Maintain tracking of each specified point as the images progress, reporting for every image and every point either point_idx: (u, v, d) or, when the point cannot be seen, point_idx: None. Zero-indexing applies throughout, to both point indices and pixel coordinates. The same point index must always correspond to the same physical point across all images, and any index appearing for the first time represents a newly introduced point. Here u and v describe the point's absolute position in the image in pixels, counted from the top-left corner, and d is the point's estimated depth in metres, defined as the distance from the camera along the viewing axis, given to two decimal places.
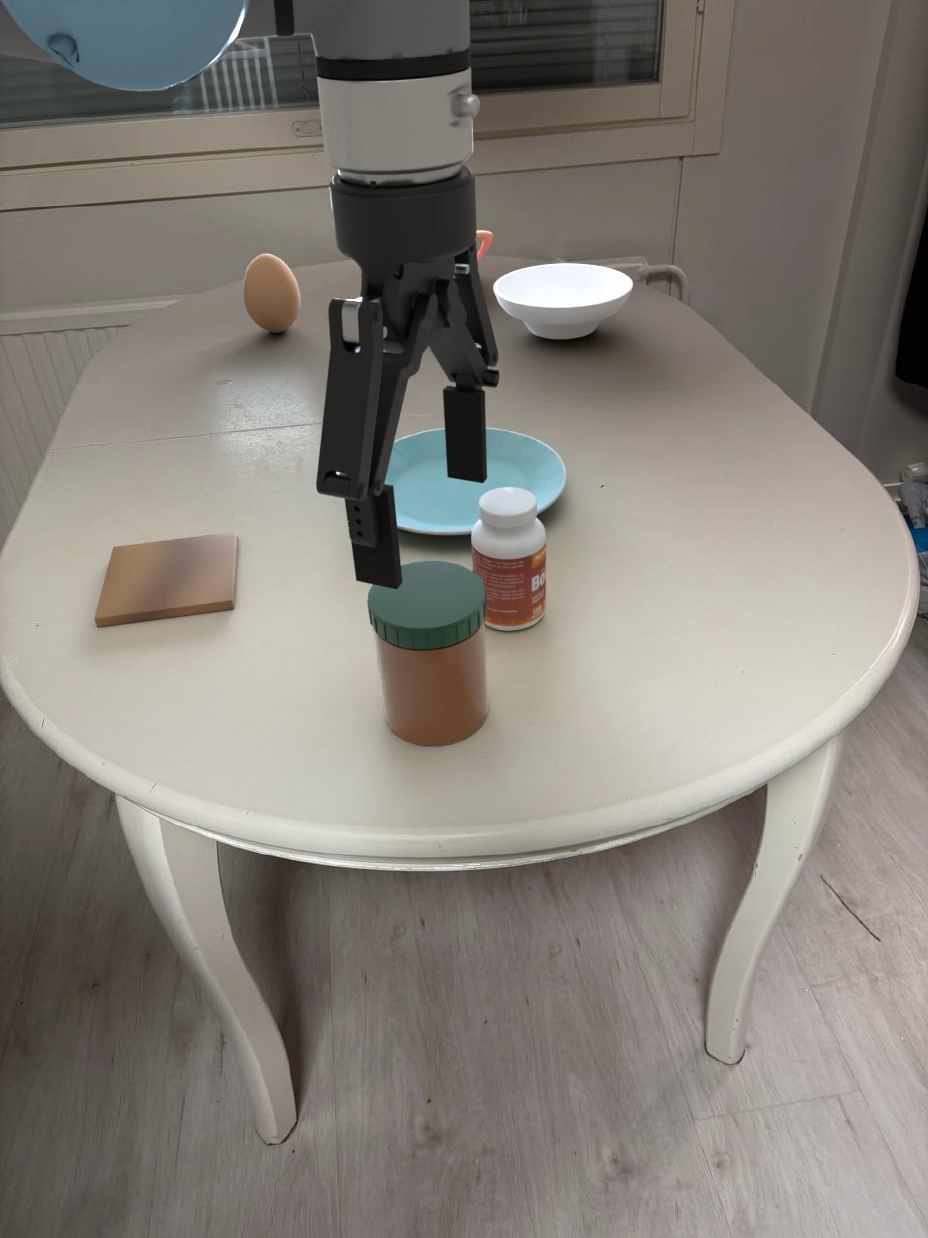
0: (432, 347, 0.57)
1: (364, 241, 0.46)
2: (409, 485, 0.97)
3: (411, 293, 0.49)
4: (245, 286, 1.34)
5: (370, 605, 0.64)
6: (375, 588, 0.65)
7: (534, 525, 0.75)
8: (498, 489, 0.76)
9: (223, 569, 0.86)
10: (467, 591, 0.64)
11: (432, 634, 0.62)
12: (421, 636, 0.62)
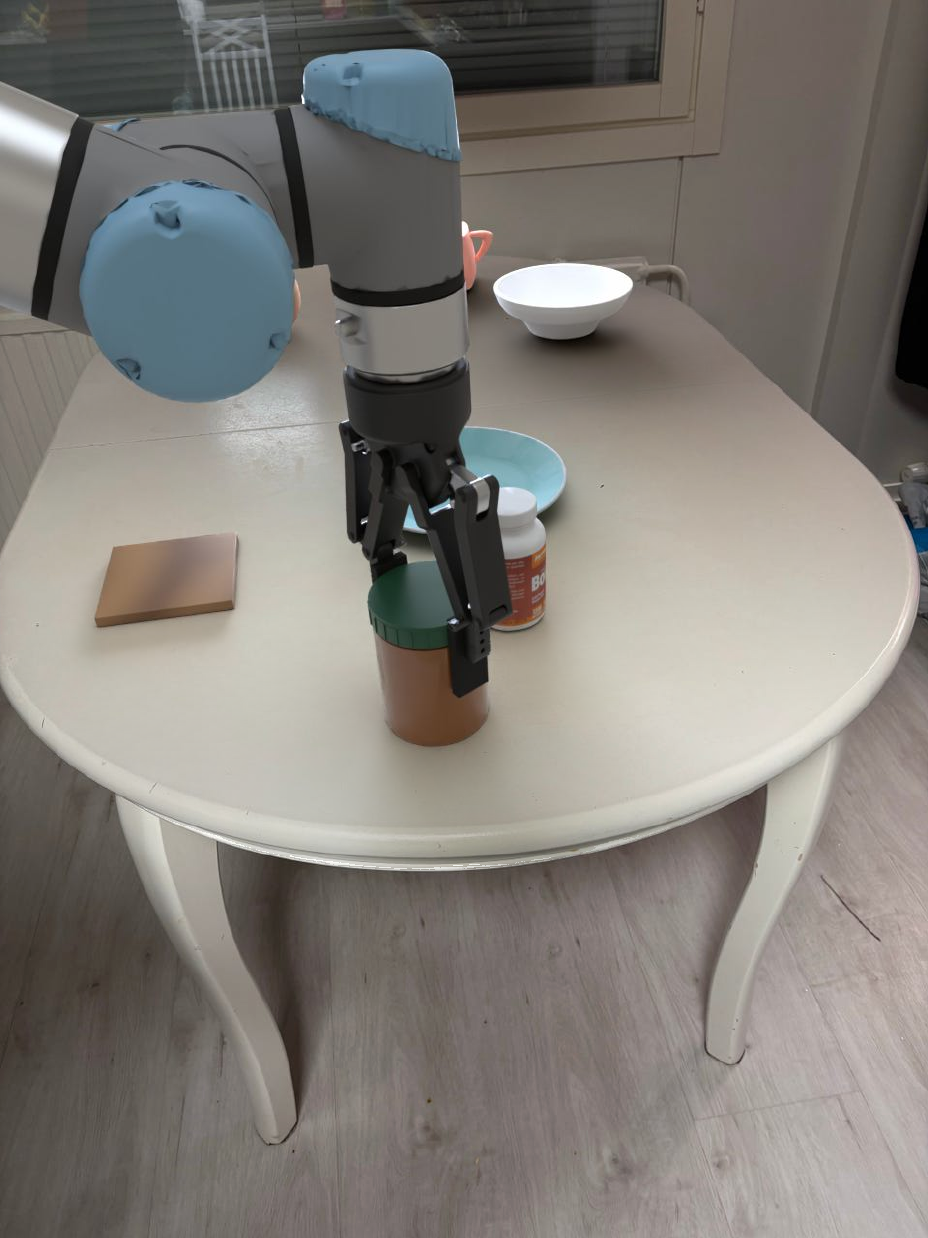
0: None
1: None
2: None
3: None
4: None
5: (370, 605, 0.64)
6: (375, 588, 0.65)
7: (534, 525, 0.75)
8: None
9: (223, 569, 0.86)
10: None
11: (432, 634, 0.62)
12: (421, 636, 0.62)
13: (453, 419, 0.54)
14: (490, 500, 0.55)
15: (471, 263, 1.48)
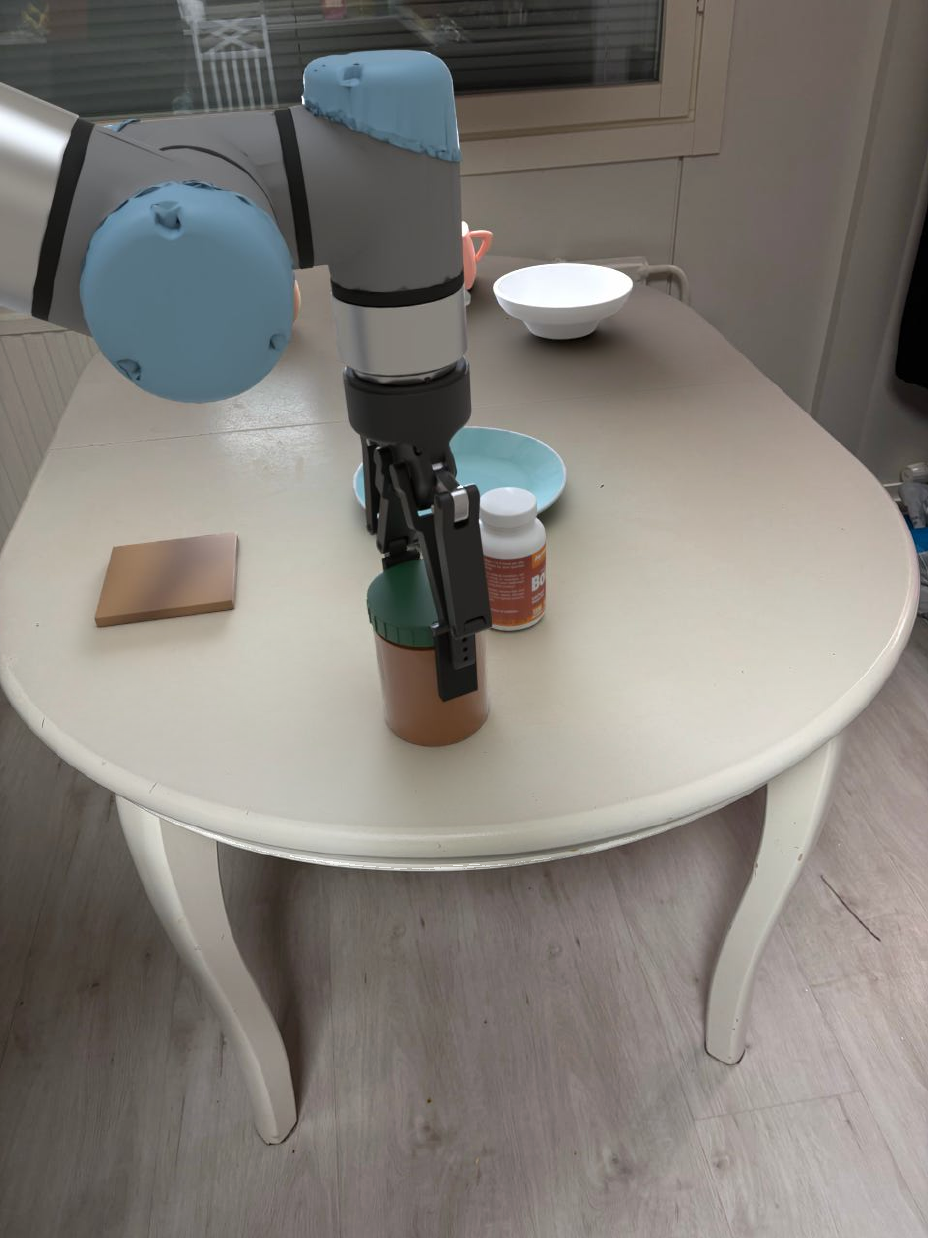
0: (389, 515, 0.63)
1: (427, 427, 0.53)
2: None
3: None
4: None
5: None
6: None
7: (534, 525, 0.75)
8: (498, 489, 0.76)
9: (223, 569, 0.86)
10: (386, 586, 0.65)
11: None
12: None
13: None
14: None
15: (471, 263, 1.48)
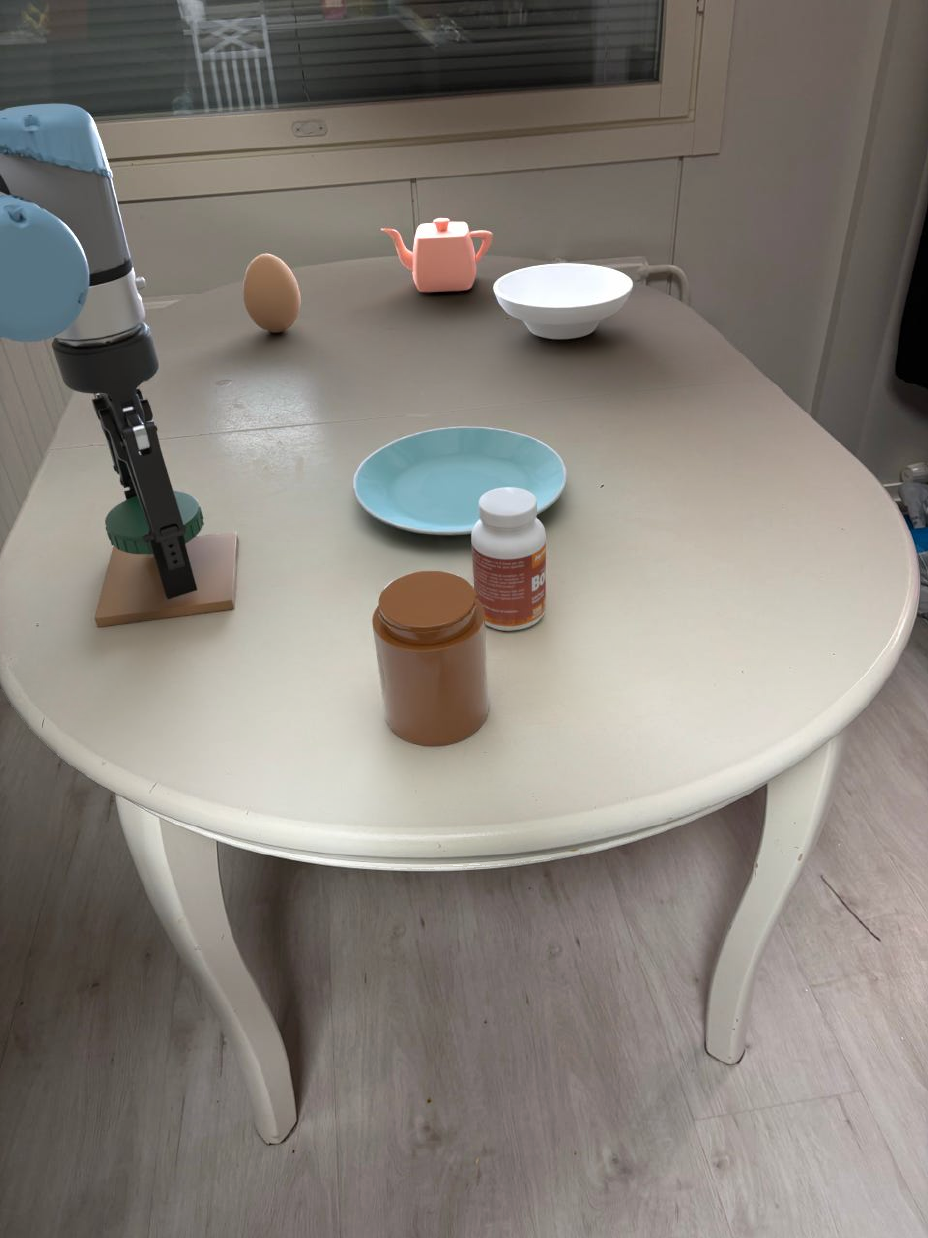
0: None
1: (112, 378, 0.71)
2: (409, 485, 0.97)
3: None
4: (245, 286, 1.34)
5: (197, 508, 0.83)
6: (186, 519, 0.81)
7: (534, 525, 0.75)
8: (498, 489, 0.76)
9: (223, 569, 0.86)
10: (123, 510, 0.83)
11: None
12: None
13: None
14: None
15: (471, 263, 1.48)
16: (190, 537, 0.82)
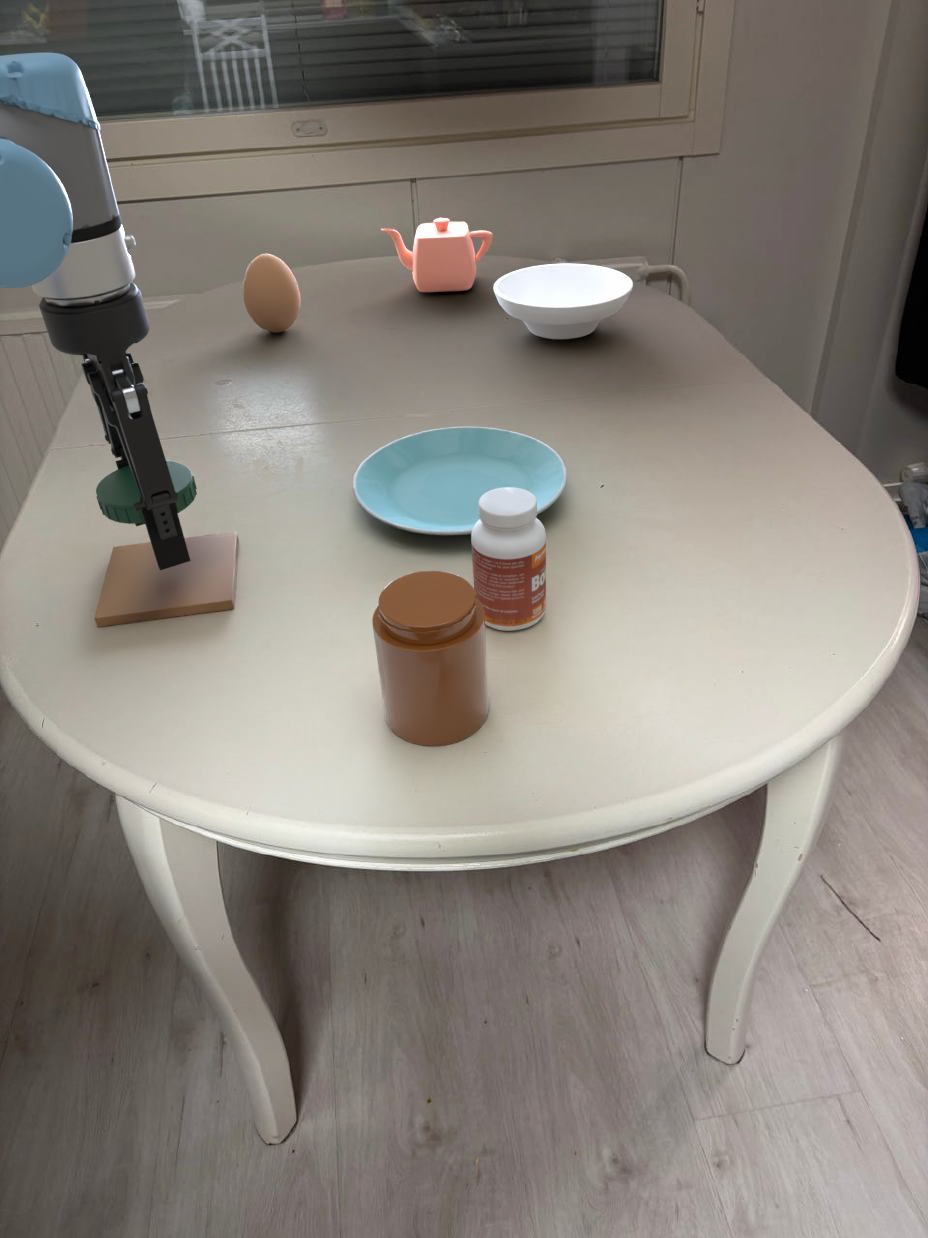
0: None
1: (101, 339, 0.70)
2: (409, 485, 0.97)
3: None
4: (245, 286, 1.34)
5: (190, 477, 0.81)
6: (179, 488, 0.80)
7: (534, 525, 0.75)
8: (498, 489, 0.76)
9: (223, 569, 0.86)
10: (114, 480, 0.81)
11: None
12: None
13: None
14: None
15: (471, 263, 1.48)
16: (183, 506, 0.80)
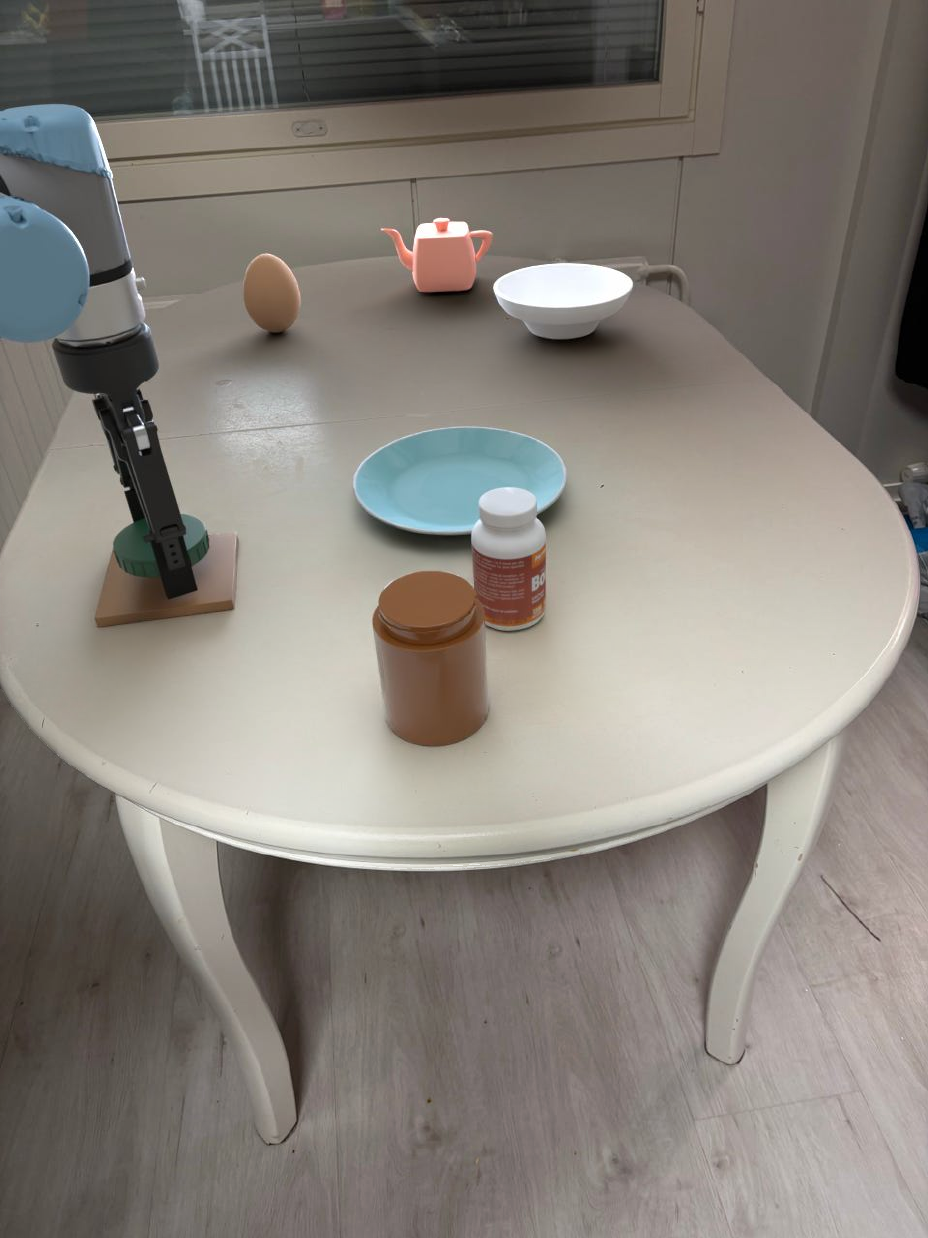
0: None
1: (113, 379, 0.72)
2: (409, 485, 0.97)
3: None
4: (245, 286, 1.34)
5: (204, 531, 0.84)
6: (193, 543, 0.83)
7: (534, 525, 0.75)
8: (498, 489, 0.76)
9: (223, 569, 0.86)
10: (130, 533, 0.85)
11: None
12: None
13: None
14: None
15: (471, 263, 1.48)
16: (196, 560, 0.83)
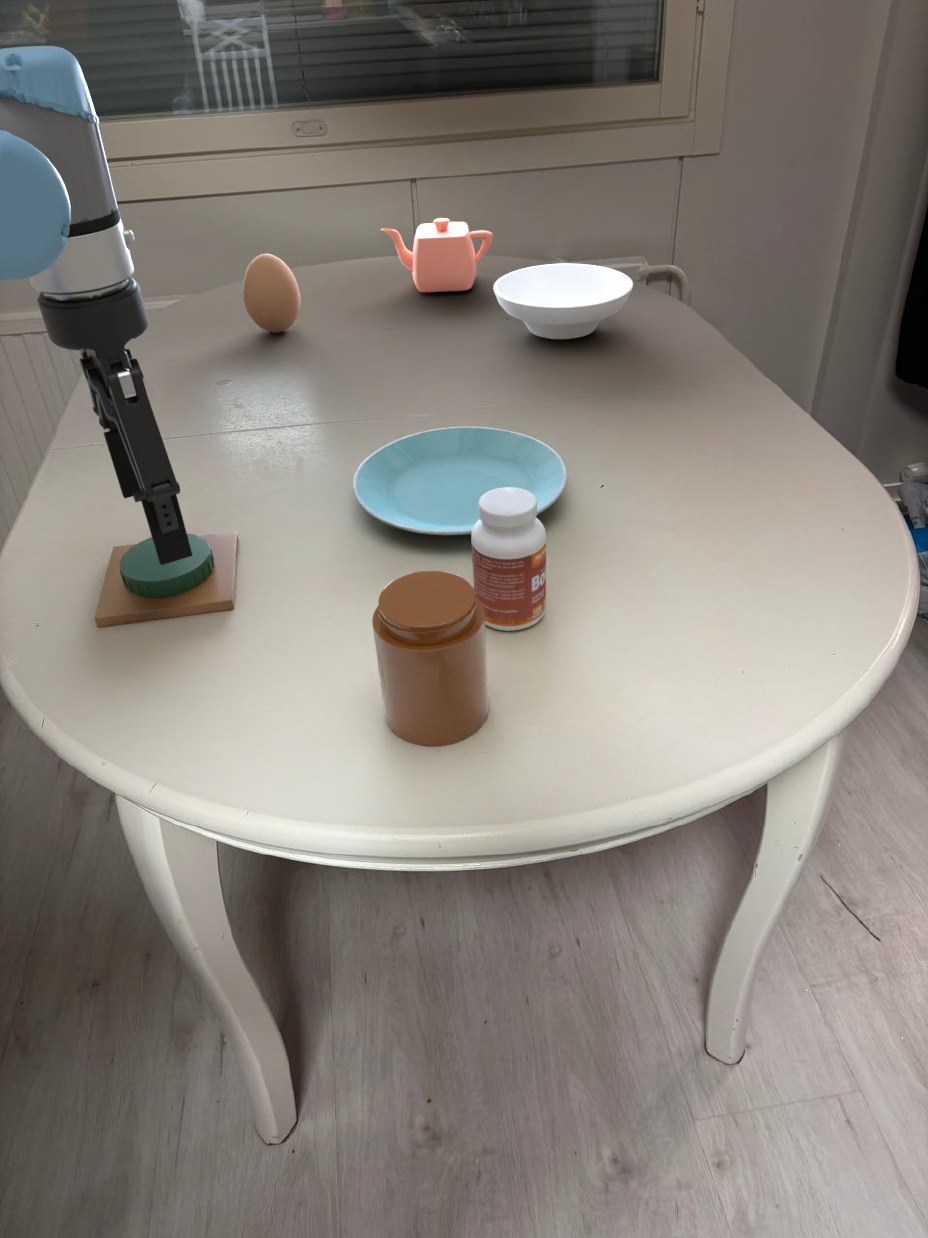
0: (102, 404, 0.80)
1: (100, 334, 0.69)
2: (409, 485, 0.97)
3: None
4: (245, 286, 1.34)
5: (208, 551, 0.86)
6: (198, 563, 0.84)
7: (534, 525, 0.75)
8: (498, 489, 0.76)
9: (223, 569, 0.86)
10: (136, 554, 0.86)
11: None
12: None
13: None
14: None
15: (471, 263, 1.48)
16: (201, 580, 0.85)
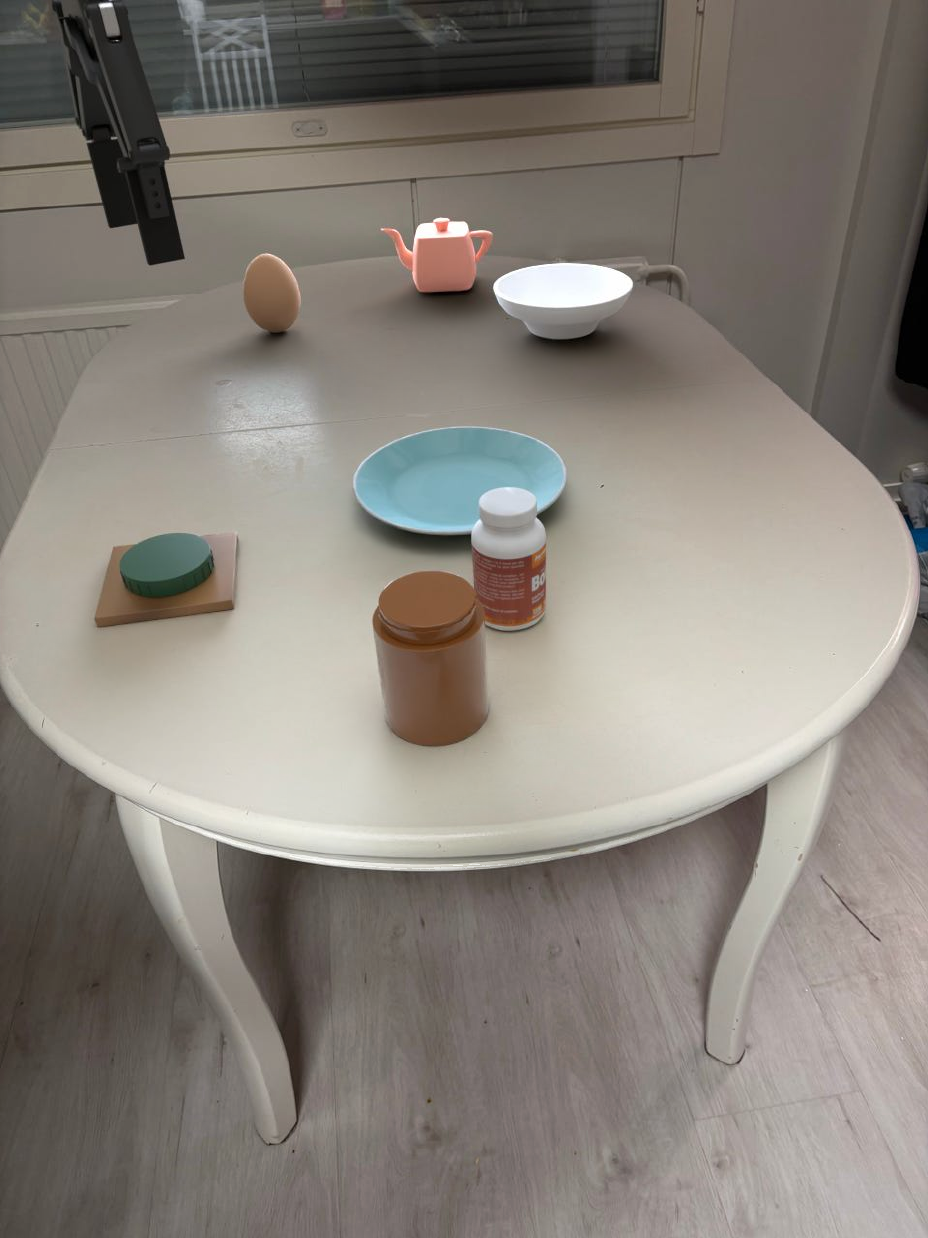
0: (84, 95, 0.72)
1: None
2: (409, 485, 0.97)
3: None
4: (245, 286, 1.34)
5: (208, 551, 0.86)
6: (198, 563, 0.84)
7: (534, 525, 0.75)
8: (498, 489, 0.76)
9: (223, 569, 0.86)
10: (136, 554, 0.86)
11: None
12: None
13: None
14: None
15: (471, 263, 1.48)
16: (201, 580, 0.85)
